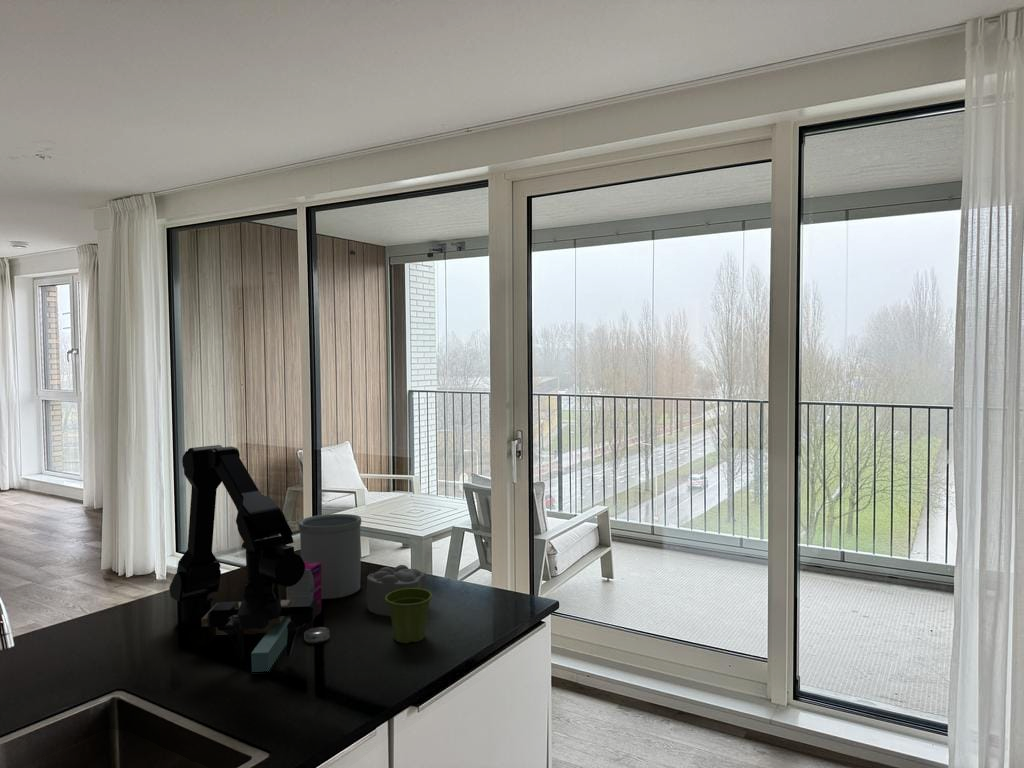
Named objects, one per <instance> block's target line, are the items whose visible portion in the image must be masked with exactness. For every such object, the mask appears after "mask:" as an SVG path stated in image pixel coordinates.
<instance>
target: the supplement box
mask: <svg viewBox="0 0 1024 768" xmlns="http://www.w3.org/2000/svg"><path fill="white" fill-rule="evenodd" d="M304 563H305V571H304V575H303V576H302V578H301V580H300V581H299V582H298V583H296V584H295V585H293V586H290V587H286V599H285V600H291V605H293V603H294V602H295V600H296V599H304V598H315V599H316V600H317V602H318V613H317V615H316V616H315V617H317V616H318V615H319V614H321V613H322V612H323V611H322V610H323V609H322V608H323V607H322V604H323V603H322V599H321V563H317V562H304Z"/></svg>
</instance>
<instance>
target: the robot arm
mask: <svg viewBox="0 0 1024 768" xmlns="http://www.w3.org/2000/svg"><path fill="white" fill-rule="evenodd" d="M181 461H182V468H183V474H184V476H185V478H186V480H187V481H188V482H189V484H190V485H191V491H190V492H191V493H190V506H189V507H190V509H189V522H188V523H189V524H188V537H187V549H186V551H185V552H184V554H183V555H182V557H181V558H180V559H179V560H178V563H177V569H176V573H175V574H174V576H173V578H172V581H171V583H170V585H169V587H168V590H169V594H170V598H172V599H173V600H175V601H177V602H176V604H177V623H176V624H175V625H174V629H187V628H188V629H190V628H203V627H202V624H201V619H202V618H203V617H204V616H205V615H206V614H207V613H208V612H209V611H210V610H211V609H212V608H213V607H214V606H215V604H216V603H215V602H216V600H215V598H213V593H218V592H219V589H220V584H221V583H220V582H221V574H222V571H221V563H220V562H219V560H218V559H217V558H216V556H215V555H214V553H213V541H214V527H215V516H216V504H217V503H216V502H217V501H216V500H217V491H218V487H219V486H220V485H221V484H223V486H224V488H225V489H226V490H225V491H226V492H227V493H228V495H229V497H230V498H231V500H232V502H233V505H234V506H235V508H236V510H237V514H236V518H235V523H236V526H237V532H238V534H239V536H240V537H241V538H242V541H243V543H241V548H243V549H245V565H246V567H245V568H246V569H245V571H246V573H245V576H246V584H245V585H244V586H245V588H244V595H243V599H242V601H241V602H242V603H241V605H240V607H239V604H238V602H239V601H236V600H235V601H219V602H217V603H218V604H217V605H216V606H215V607H214V608H213V609H212V610H211V611H210V612H209V613H208V617H207V624H208V626H207V627H208V628H216V627H218V628H217V629H218V630H219V631H224V632H225V633H227V634H228V637H229V638H230V640H231V642H232V644H233V647H234V649H235V651H236V654H237V656H238V657H239V660H243V659H245V658H244V657H245V635H244V630H247V629H250V628H258V629H263V628H265V627H267V625H268V622H269V620H272V619H278V618H279V616H290V621H289V623H288V625H287V630H288V636H287V646H286V648H285V649H286V658H290V657H291V654H292V650H293V647H294V645H295V641H296V639H297V636H298V632H299V629H300V628H303V627H304V626H305V625H306V624H309V623H313V622H314V620H315V618H316V617H317V616H318V615H317V613H318V602H317V600H316V599H315V598H304V599H296V600H295V602H294V603H293V605H283V606H281V600H282V596H281V588H280V587H281V586H283V587H284V588H285V587H290V586H293V585H295V584H296V583H298V582H299V581H300V580H301V578H302V576H303V575H304V571H305V563H304V561H303V559H302V558H301V555H299V554H297V553H295V547H294V546H292V545H290V544H293V543H294V542H295V541H294V538H293V534H294V533H293V531H292V529H291V527H290V525H289V523H288V521H287V519H286V517H285V514H284V512H283V511H282V509H281V508H280V506H278V504H277V503H276V501H274V499H272V498H270V497H268V496H266V495H264V494H263V493H261V491H260V490H259V488H258V487H257V484H256V483H255V481H254V480H253V478H252V477H251V475H250V473H249V471H248V469H247V468H246V465H245V464H244V463H243V461H242V460H241V455H240V451H239V449H238V447H235V446H231V445H230V446H222V445H221V444H215V445H205V446H197V447H190V448H188V449H187V450H186V451H184V453H183V455H182V460H181ZM316 615H317V616H316Z"/></svg>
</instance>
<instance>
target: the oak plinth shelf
mask: <svg viewBox="0 0 1024 768" xmlns="http://www.w3.org/2000/svg"><path fill="white" fill-rule="evenodd" d="M237 602H238V604H239V607H240V605H241V603H242V601H237ZM218 603H219V602H216V603H215V606H216V605H217V604H218ZM283 605H291V600H286V599H281V606H283ZM215 606H214V607H215ZM214 607H213V608H214ZM213 608H212V609H213ZM212 609H211V610H212ZM211 610H210V611H211ZM210 611H209V612H210ZM209 612H208V613H209ZM208 613H207V614H206V615H205V616H204V617H203V618H202V619H201V624H202V627H201V628H205V627H208V624H207V617H208ZM283 618H290V616H279V618H278V619H272V620H269V622H268V625H267V627H265V628H263V629H258V628H250V629H247V630H244V634H249V635H258V634H257V633H267V632H268V631H269V629H270V628H271V627H272V625H273V624H274V623H281V621H282V620H283ZM217 628H218V627H215V636H216V635H228V634H227V633H225V632H224V631H219V630H218V629H217ZM228 636H229V635H228Z"/></svg>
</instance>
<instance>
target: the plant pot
mask: <svg viewBox="0 0 1024 768" xmlns="http://www.w3.org/2000/svg"><path fill="white" fill-rule="evenodd" d="M432 598H433V594H432V592H431V591H430V590H428V589H426V590H425V589H420V588H405V589H399V590H395V591H392V592H390V593H389V594H387V595H386V597H385V599H386V601H387V602H388V607H389V608H390V614H391V616H390V619H391V625H392V631H393V638H394V641H396V642H398V643H402V644H409V643H412V642H413V643H417V642H420V641H422V640H424V638H425V636H426V629H427V628H426V627H427V618H428V610H429V606H430V603H431V599H432Z"/></svg>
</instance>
